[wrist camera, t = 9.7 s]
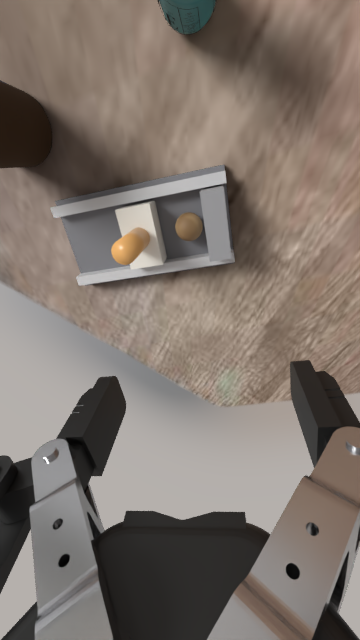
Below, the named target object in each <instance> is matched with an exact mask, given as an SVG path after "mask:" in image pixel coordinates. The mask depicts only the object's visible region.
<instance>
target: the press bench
mask: <svg viewBox="0 0 360 640" xmlns="http://www.w3.org/2000/svg"><path fill="white" fill-rule="evenodd" d="M226 183H227V182H226V173H225V167H224V165H220V166H215V167H210V168H206V169H201V170H197V171H192V172H187V173H183V174H178V175H174V176H169V177H164V178H160V179H155V180H150V181H146V182H141V183H137V184H132V185H127V186H123V187H118V188H113V189H109V190H104V191H100V192H95V193H90V194H86V195H81V196H76V197H72V198H67V199H63V200H58V201H55V202H56V205H57V206H56V207H51V211H52V214H53V217H54V218H57V217H61V219H62V222H63V225H64V228H65V230H66V233H67V236H68V239H69V241H70V244H71V247H72V250H73V253H74V255H75V258H76V261H77V264H78V266H79V269H80V272H81V274H80V275H78V276H77V277H76V279H77V281H78V284H79V286H80V285H85V286H86V285H93V284H99V283H106V282H112V281H119V280H126V279H132V278H139V277H146V276H152V275H159V274H165V273H172V272H179V271H185V270H192V269H198V268H205V267H212V266H218V265H225V264H232V263H235V258H234V250H233V242H232V233H231V224H230V214H229V205H228V196H227V186H226ZM150 201H155V203H156V208H157V213H158V217H159V222H160V227H161V231H162V236H163V241H164V245H165V250H166V255H167V258H166V260H165V262H164V264H163V265H157V266H151V267H144V268H138V269H132V270H131V267H130V264H128V265H122V264H119V263H118V262H116V261H115V259H114V258H113V256H112V252H111V249H112V246H113V244H114V243H115V242H116V241H118V240H119V239H120V238H122V235H121V231H120V227H119V224H118V220H117V216H116V213H115V210H116V209H119V208H122V207H125V206H130V205H135V204H140V203H145V202H150ZM187 212H192V213H195V214H196V215H198V216H199V217H200V219H201V221H202V224H203V229H202V232H201V234H200V236H199V237H198V238H197V239H195V240H193V241H185V240H183V239H181V238H180V237H179V236H178V235H177V233H176V229H175V224H176V221H177V219H178V218H179V216H180V215H182V214H184V213H187Z"/></svg>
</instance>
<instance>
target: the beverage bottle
mask: <svg viewBox="0 0 360 640" xmlns="http://www.w3.org/2000/svg"><path fill="white" fill-rule="evenodd" d="M158 2H160V4H161V7H162V10H163V12H164V15H165V17H166V18H165V19H166V20H167V21H168V22H167V23H169V24H170V25H171V27H172V28H173V29H174V31H175V30H176V31H178V32H180V34H181V33H183V34H184V35H190V34H191V33H193V34H194V33H195V32H197V31H200V29H201V28H202V27H203V26H204V25H205V24H206V23H207V22H208V20H209V19H210V17H211V15H212V12H214V6H215V4H216V3H215V2H216V0H158ZM159 6H160V5H159ZM160 9H161V8H160ZM162 14H163V13H162ZM163 17H164V16H163Z"/></svg>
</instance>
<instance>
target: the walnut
mask: <svg viewBox="0 0 360 640" xmlns="http://www.w3.org/2000/svg"><path fill="white" fill-rule="evenodd" d="M175 229H176V233H177V235H178V236H179V237H180V238H181V239H183V240H185V241H193V240H195V239H197V238H198V237H199V236H200V234H201V232H202V229H203V224H202V221H201V219H200V217H199V216H198V215H196V214H195V213H192V212H187V213H184V214H182V215H180V216H179V218H178V219H177V221H176V224H175Z"/></svg>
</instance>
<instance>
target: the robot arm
mask: <svg viewBox="0 0 360 640" xmlns="http://www.w3.org/2000/svg"><path fill="white" fill-rule="evenodd" d="M290 378H291V396H292V401H293V405H294V408H295V411H296V414H297V417H298V420H299V423H300V426H301V429H302V432H303V435H304V438H305V441H306V444H307V447H308V450H309V453H310V456H311V459H312V462H313V465H314V470H313V472H312V474H311V475H310V476H309V477H308V476H304V477H303V478H302V480H301V481H300V483H299V485H298V486H297V488H296V490H295V492H294V494H293V495H292V497H291V499H290V501H289V503H288V504H287V506H286V508H285V510H284V512H283V513H282V515H281V517H280V519H279V521H278V522H277V524H276V526H275V528H274V530H273V532H272V533H271V535H270V534H269V533H268V532H266V531H264V530H263V529H261V528H259V527H257V526H255V525H252V524H249V523H246V518H245V512H211V513H208V514H204V515H201V516H197V517H193V518H190V519H186V520H179V519H176V518H173V517H170V516H167V515H164V514H161V513H157V512H154V511H126V515H125V518H124V522H121V523H118V524H116V525H114V526H112V527H110V528H108V529H107V530H104V528H103V525H102V522H101V519H100V516H99V513H98V510H97V506H96V503H95V500H94V497H93V494H92V491H91V487H90V485H89V480H90V478H91V476H102V473H103V471H104V468H105V465H106V463H107V460H108V457H109V455H110V452H111V449H112V447H113V444H114V441H115V439H116V436H117V433H118V430H119V428H120V425H121V423H122V420H123V417H124V415H125V411H126V401H125V398H124V395H123V392H122V390H121V387H120V384H119V381H118V379H117V377H116V376H109V377H100V378H99V379H98V380H97V382H96V384H95V386H94V387H93V388H92V389H89V390H88V391H87V392H86V393H85V394H84V395H82V396H81V398H80V400H79V402H78V403H77V406H76V407H75V408H74V410H73V412H72V414H71V415H70V417H69V418H68V420H67V422H66V423H65V425H64V427H63V428H62V430H61V432H60V433H59V435H58V437H57V438H56V439H54V440H51V441H49V442H47V443H46V444H44V445H42V446H41V447H40V448H39V449H38V450H37V451H36V452H35V454H34V455H33V457H32V458H29V459H26V460H23V461H19V462H16V463H13V461H12V460H11V458H10V457H9V456H0V593H1V591H2V589H3V587H4V585H5V583H6V580H7V578H8V576H9V574H10V572H11V569H12V567H13V565H14V563H15V561H16V559H17V557H18V555H19V553H20V550H21V548H22V546H23V544H24V542H25V540H26V538H27V535H28V533H29V531H30V529H31V533H32V547H33V559H34V569H35V583H36V595H37V602H36V603H35V604H34V605H33V606H32V607H31V608H30V609H29V610H28V611H27V612H26V613H25V615H24V616H23V617H22V618H21V619H20V620H19V621H18V622H17V623H16V624H15V626H13V627H12V629H11V630H10V631H9V632H8V633H7V634H6V635H5V636H4V637H3V638H2V639H1V640H360V639H359V638H358V637H357V636H356V635H355V633H354V632H353V631H352V630H351V629H350V627H349V626H348V625H347V623H346V622H345V621H344V620H343V619H342V617H341V616H340V615H339V611H340V608H341V605H342V602H343V599H344V596H345V593H346V590H347V587H348V583H349V580H350V577H351V573H352V569H353V565H354V562H355V558H356V555H357V552H358V549H359V547H360V423H359V421H358V419H357V417H356V415H355V414H354V412H353V410H352V408H351V407H350V405H349V403H348V401H347V399H346V398H345V396H344V394H343V392H342V391H341V390H340V387H339V385H338V384H337V382H336V380H335V379H334V378H333V377H332V376H330V375H329V374H328V373H327V372H325V371H320V372H315V370H314V368H313V366H312V364H311V362H310V361H309V360H305V361H293V362H291V363H290Z"/></svg>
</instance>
